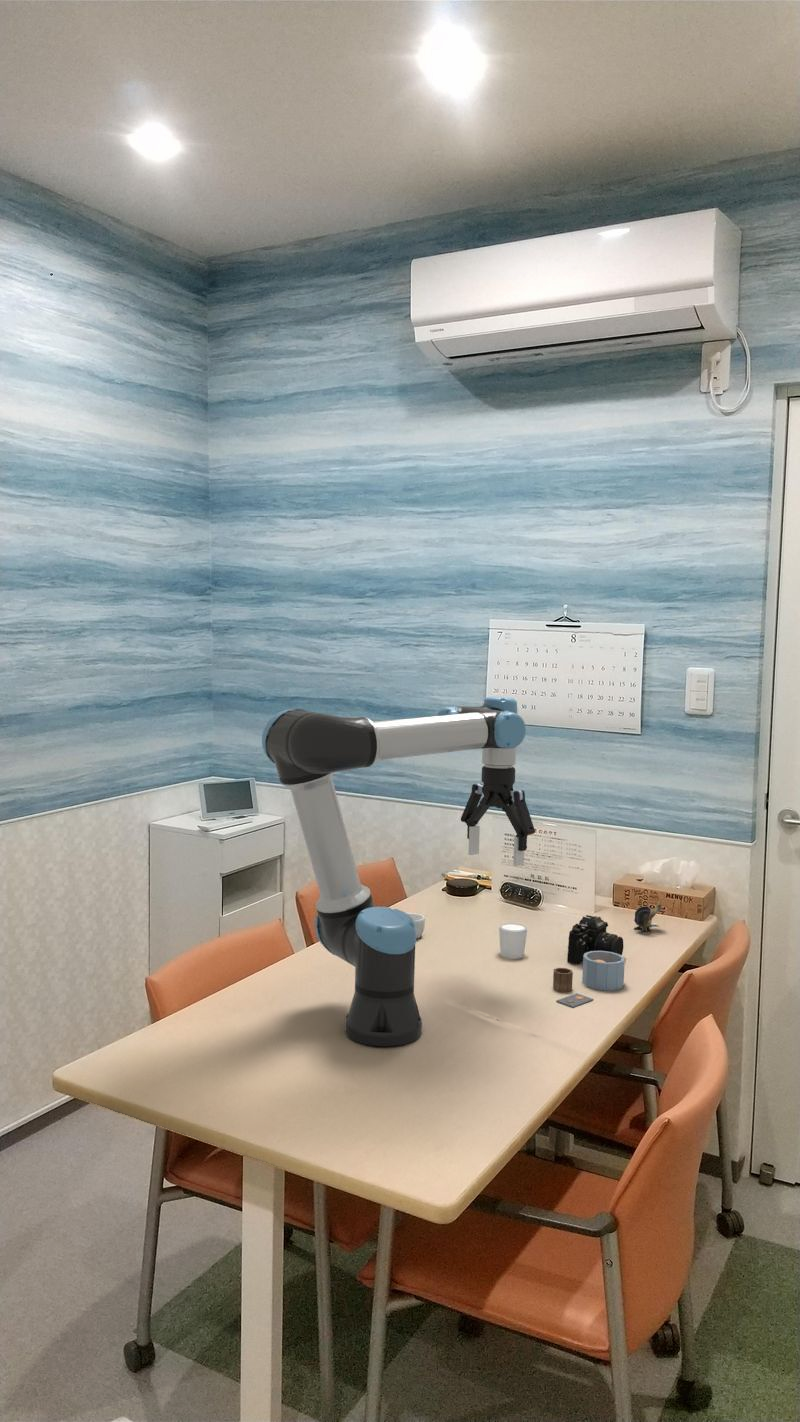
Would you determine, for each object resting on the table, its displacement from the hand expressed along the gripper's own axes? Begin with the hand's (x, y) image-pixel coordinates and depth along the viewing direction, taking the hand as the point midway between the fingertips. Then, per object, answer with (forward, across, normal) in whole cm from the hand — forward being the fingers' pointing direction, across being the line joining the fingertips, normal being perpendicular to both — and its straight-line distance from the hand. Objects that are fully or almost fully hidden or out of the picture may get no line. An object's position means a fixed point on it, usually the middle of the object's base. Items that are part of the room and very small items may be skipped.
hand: (495, 859), depth 222 cm
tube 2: (+27, -19, -16) cm, 36 cm away
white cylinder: (+27, +7, -15) cm, 32 cm away
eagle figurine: (+27, -4, -55) cm, 61 cm away
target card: (+27, -22, -2) cm, 35 cm away
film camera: (+27, -7, -30) cm, 41 cm away
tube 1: (+27, -16, -6) cm, 31 cm away
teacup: (+27, +33, -4) cm, 43 cm away
